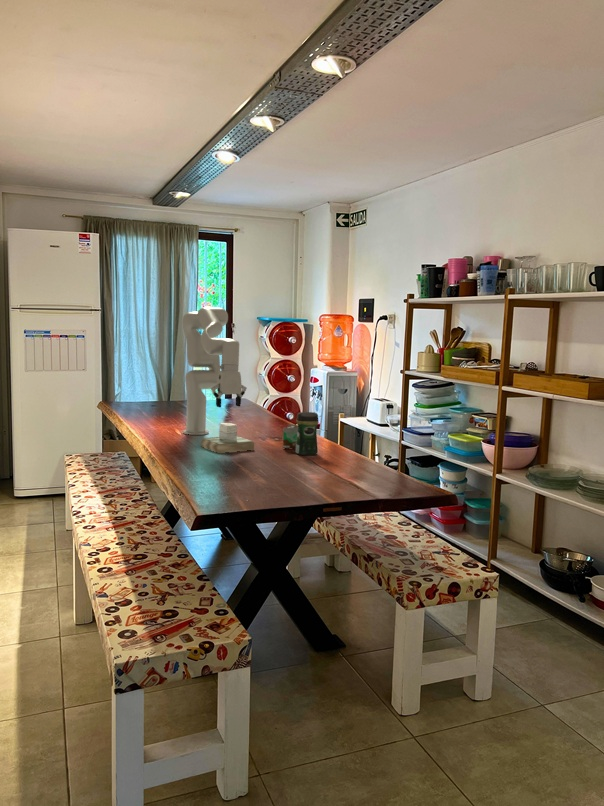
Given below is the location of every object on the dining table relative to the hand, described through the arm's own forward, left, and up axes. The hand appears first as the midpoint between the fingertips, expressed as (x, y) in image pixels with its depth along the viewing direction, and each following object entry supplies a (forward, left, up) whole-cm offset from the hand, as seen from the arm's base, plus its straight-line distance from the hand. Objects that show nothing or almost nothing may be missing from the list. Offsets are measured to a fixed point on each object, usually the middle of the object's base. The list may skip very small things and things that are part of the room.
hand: (228, 406), depth 291 cm
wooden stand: (0, 0, -19) cm, 19 cm away
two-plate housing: (0, 0, -15) cm, 15 cm away
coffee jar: (+24, +26, -19) cm, 40 cm away
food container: (+10, +28, -19) cm, 35 cm away
